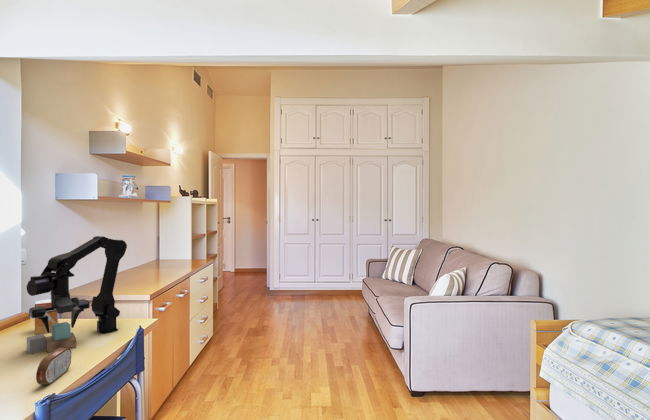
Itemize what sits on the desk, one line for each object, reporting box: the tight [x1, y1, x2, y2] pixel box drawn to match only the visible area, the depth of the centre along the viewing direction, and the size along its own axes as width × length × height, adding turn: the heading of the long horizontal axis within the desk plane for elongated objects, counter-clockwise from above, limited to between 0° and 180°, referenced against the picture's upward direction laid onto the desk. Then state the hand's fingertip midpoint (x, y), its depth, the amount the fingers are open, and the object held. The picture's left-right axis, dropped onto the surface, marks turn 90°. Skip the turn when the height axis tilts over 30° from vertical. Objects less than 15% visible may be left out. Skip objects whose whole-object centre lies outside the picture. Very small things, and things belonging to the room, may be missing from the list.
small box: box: [34, 298, 59, 335], centre depth 169 cm, size 8×6×13 cm
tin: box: [35, 348, 72, 386], centre depth 126 cm, size 15×3×8 cm, turn 5°
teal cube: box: [51, 321, 72, 341], centre depth 151 cm, size 5×5×5 cm
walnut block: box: [45, 331, 77, 355], centre depth 151 cm, size 9×9×4 cm
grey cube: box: [26, 333, 47, 355], centre depth 148 cm, size 5×5×5 cm
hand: (60, 330), depth 151 cm, fingers open, 8 cm apart
